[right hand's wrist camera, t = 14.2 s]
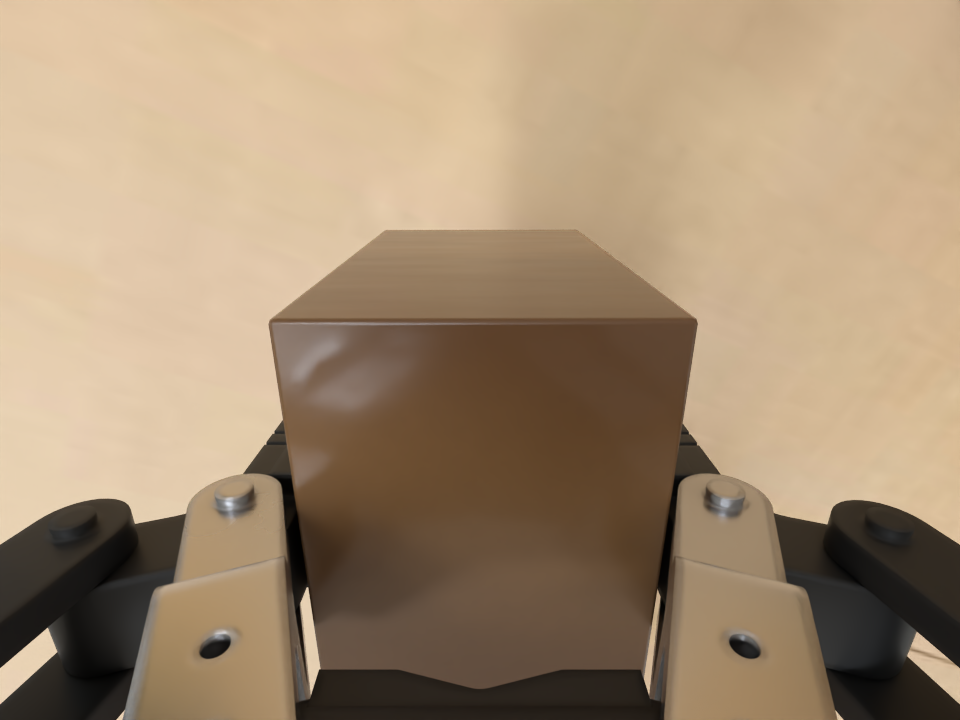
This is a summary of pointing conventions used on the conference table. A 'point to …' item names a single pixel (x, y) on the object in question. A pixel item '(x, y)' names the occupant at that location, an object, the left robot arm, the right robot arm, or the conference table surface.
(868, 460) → the conference table surface
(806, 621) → the right robot arm
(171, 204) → the conference table surface
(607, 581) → the bar
